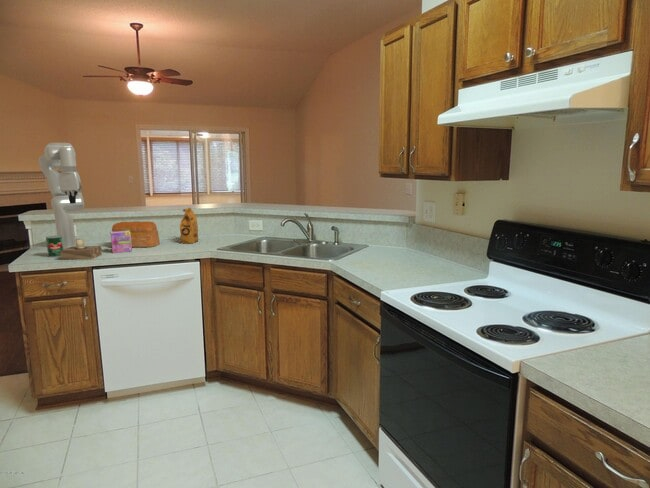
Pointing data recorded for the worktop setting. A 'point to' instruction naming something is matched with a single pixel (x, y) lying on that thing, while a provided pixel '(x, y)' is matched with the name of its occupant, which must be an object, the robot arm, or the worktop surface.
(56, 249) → the canned tomato
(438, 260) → the worktop surface
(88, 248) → the board
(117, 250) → the box
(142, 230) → the bread
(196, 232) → the coffee package
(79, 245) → the peg
